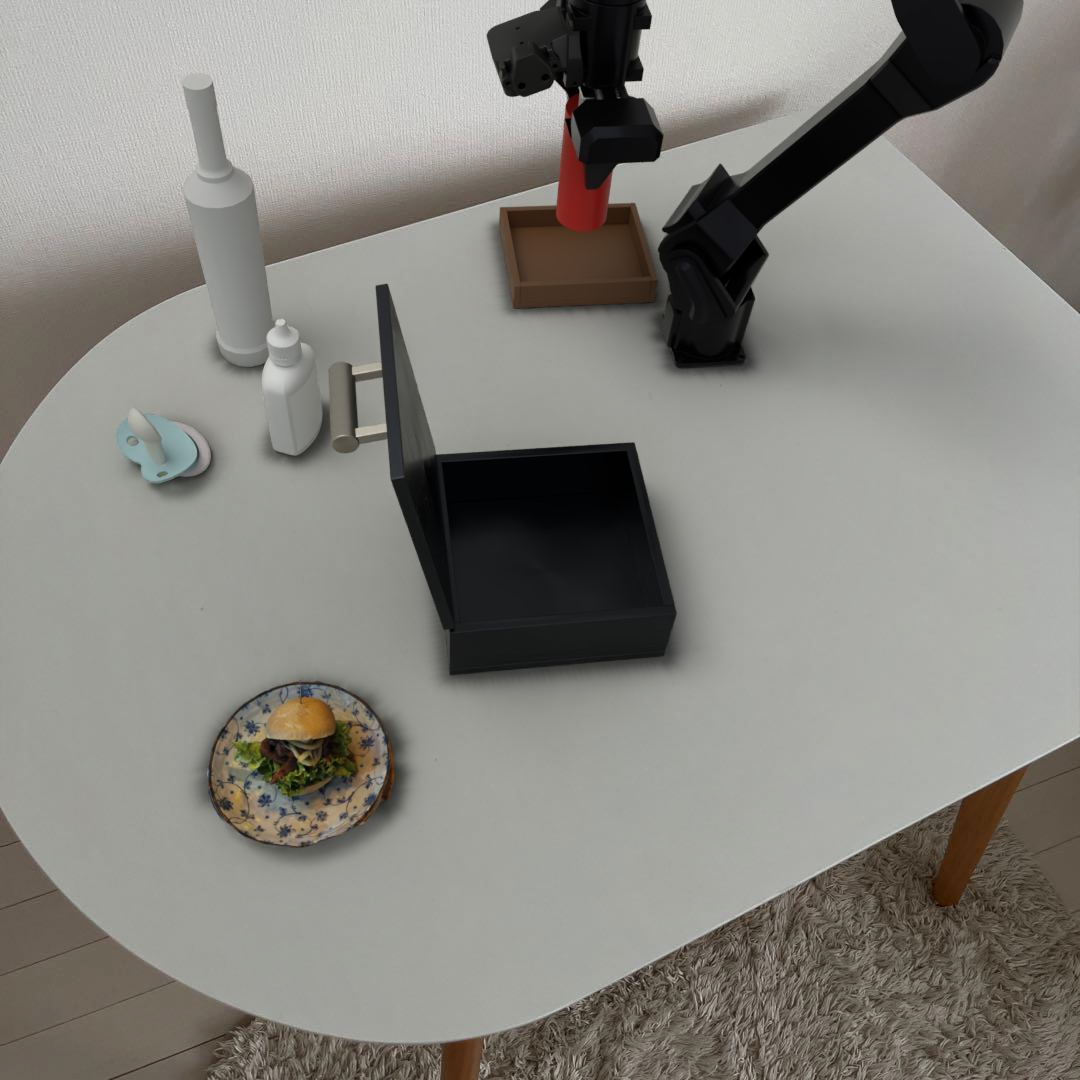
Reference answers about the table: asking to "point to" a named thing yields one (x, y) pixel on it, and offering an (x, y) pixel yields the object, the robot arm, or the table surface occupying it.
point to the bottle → (226, 234)
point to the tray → (576, 258)
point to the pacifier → (162, 447)
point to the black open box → (552, 558)
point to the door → (399, 446)
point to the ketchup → (578, 186)
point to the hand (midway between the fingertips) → (586, 170)
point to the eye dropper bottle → (291, 391)
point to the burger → (300, 765)
